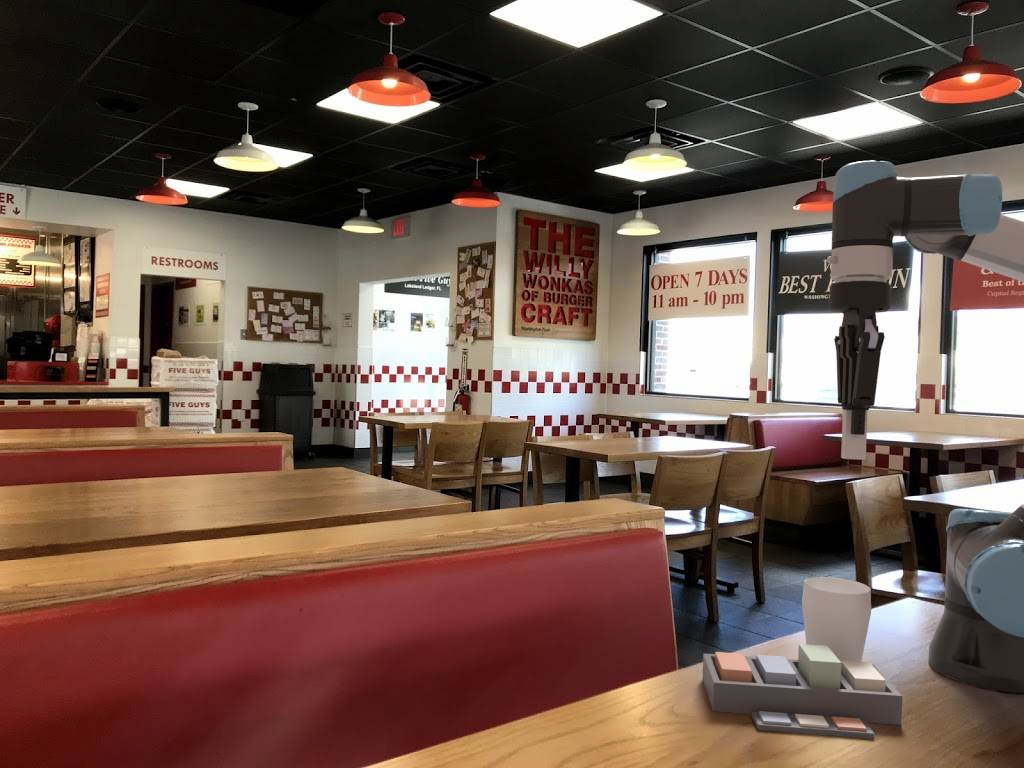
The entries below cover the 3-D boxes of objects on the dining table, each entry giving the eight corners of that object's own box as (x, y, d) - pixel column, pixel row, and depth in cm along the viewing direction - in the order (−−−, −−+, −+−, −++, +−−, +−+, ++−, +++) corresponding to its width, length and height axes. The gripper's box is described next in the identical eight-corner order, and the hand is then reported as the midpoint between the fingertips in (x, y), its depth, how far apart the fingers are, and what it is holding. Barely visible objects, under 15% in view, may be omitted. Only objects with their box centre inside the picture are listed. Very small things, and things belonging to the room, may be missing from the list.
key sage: (826, 672, 104) (827, 645, 104) (840, 691, 98) (841, 662, 98) (797, 670, 104) (798, 643, 104) (809, 688, 98) (810, 660, 98)
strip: (863, 724, 95) (864, 717, 95) (874, 738, 91) (874, 730, 91) (751, 716, 96) (752, 708, 96) (757, 729, 93) (757, 722, 93)
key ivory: (868, 689, 103) (869, 662, 103) (884, 708, 97) (885, 680, 97) (839, 686, 104) (840, 660, 103) (853, 706, 98) (855, 678, 98)
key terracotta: (742, 680, 105) (743, 653, 105) (750, 698, 99) (751, 671, 99) (714, 678, 105) (715, 651, 105) (721, 696, 99) (722, 669, 99)
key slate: (783, 683, 104) (784, 656, 104) (794, 702, 98) (796, 674, 98) (755, 681, 105) (756, 654, 105) (764, 700, 99) (765, 672, 99)
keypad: (872, 691, 105) (873, 664, 105) (901, 725, 95) (902, 696, 95) (702, 679, 107) (703, 653, 107) (712, 711, 98) (714, 682, 97)
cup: (875, 685, 107) (879, 597, 107) (804, 678, 109) (808, 591, 109) (860, 661, 116) (863, 579, 116) (795, 655, 118) (798, 574, 117)
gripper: (817, 286, 113) (811, 452, 114) (846, 275, 100) (838, 463, 101) (872, 287, 112) (866, 454, 113) (908, 276, 99) (900, 465, 100)
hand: (853, 458), depth 107 cm, fingers closed
